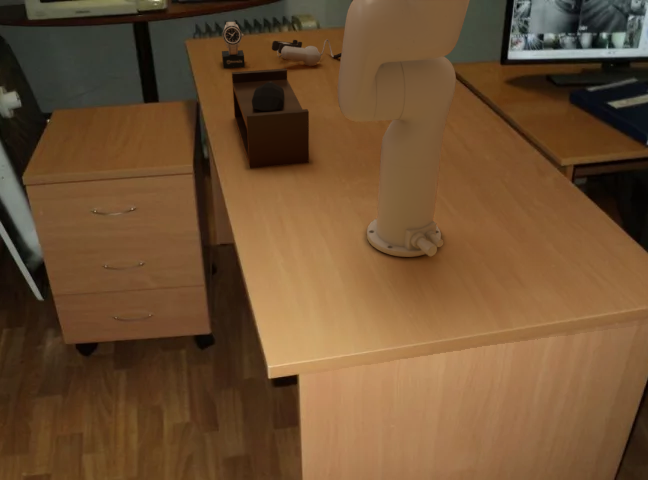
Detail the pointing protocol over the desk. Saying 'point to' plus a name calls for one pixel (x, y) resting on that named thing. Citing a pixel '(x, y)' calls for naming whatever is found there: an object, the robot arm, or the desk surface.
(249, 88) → the shelf
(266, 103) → the gaming mouse
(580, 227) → the desk surface
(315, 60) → the clip-on lamp
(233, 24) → the watch
